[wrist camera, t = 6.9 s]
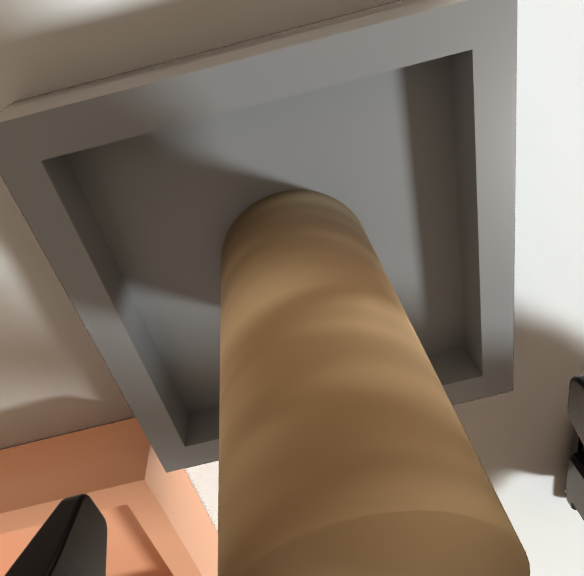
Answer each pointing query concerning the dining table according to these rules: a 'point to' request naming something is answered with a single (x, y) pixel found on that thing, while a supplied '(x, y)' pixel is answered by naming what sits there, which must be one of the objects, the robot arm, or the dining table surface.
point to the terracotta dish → (109, 501)
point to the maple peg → (338, 415)
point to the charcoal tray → (278, 178)
